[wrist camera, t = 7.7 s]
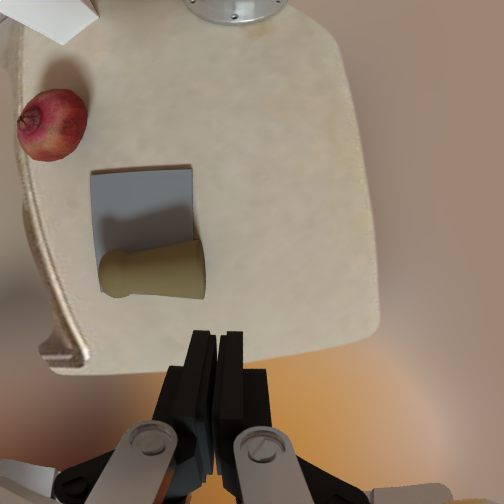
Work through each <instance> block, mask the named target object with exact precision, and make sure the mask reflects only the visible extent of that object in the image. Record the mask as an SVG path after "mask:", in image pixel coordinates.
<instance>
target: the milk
mask: <svg viewBox="0 0 504 504" xmlns="http://www.w3.org/2000/svg"><path fill="white" fill-rule="evenodd" d="M0 12H1V13H3V14H5V15H7V16H9V17H11V18H13V19H15V20H16V21H18V22H20V23H22V24H24V25H26V26H28V27H30V28H32V29H34V30H35V31H37V32H39V33H41V34H43V35H44V36H46V37H48V38H50V39H52V40H53V41H55V42H57V43H59V44H60V45H62V46H63V45H64V44H66V43H67V42H68V41H69V40H70V39H72V38H73V37H74V36H75V35H77V34H78V33H79V32H80V31H82V30H83V29H84V28H86V27H87V26H88V25H90V24H91V23H93V22H94V21H95V20H97V19H98V18H99V16H98V14H97V12H96V10H95V9H94V7H93V5H92V3H91V1H90V0H0Z"/></svg>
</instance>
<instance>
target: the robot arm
mask: <svg viewBox="0 0 504 504" xmlns="http://www.w3.org/2000/svg"><path fill="white" fill-rule="evenodd" d="M287 1H288V0H184V2H185V4H186V6H187V7H188V8H189V9H190V11H191V12H192V13H194V14H195V15H196V16H198V17H200V18H202V19H204V20H206V21H209V22H212V23H215V24H221V25H234V26H238V25H248V24H252V23H257V22H260V21H263V20H265V19H268V18H270V17H271V16H273V15H275V14H276V13H278V12H279V11H280V10H281V9H282V8H283V7H284V6H285V4H286V3H287ZM278 2H279V3H278ZM233 19H235V20H233ZM214 452H215V457H216V465H217V473H218V475H222V480H223V487H224V488H225V489H226V490H227V491H229V492H230V493H231V494H232V495H234V496H235V497H236V504H499V503H497V502H495V501H492V500H487V499H463V500H457V501H453V496H452V494H451V492H450V490H449V489H448V488H447V487H446V486H445V485H442V484H440V483H428V484H420V485H412V486H403V487H390V488H374V489H373V490H372V491H361V490H360V489H358V488H357V487H354V486H352V485H350V484H348V483H346V482H344V481H342V480H340V479H338V478H336V477H334V476H332V475H331V474H329V473H327V472H325V471H323V470H321V469H319V468H318V467H316V466H314V465H312V464H310V463H309V462H307V461H305V460H303V459H301V458H300V457H298V456H297V455H296V454H295V452H294V449H293V446H292V444H291V442H290V440H289V438H288V436H287V435H285V434H284V433H283V432H282V431H280V430H278V429H276V428H272V423H271V413H270V404H269V394H268V384H267V374H266V369H243V332H242V331H227V335H221V337H220V345H219V353H218V361H217V344H216V335H210V331H202V330H194V331H193V334H192V337H191V341H190V345H189V348H188V352H187V356H186V359H185V363H184V366H169V368H168V371H167V374H166V377H165V380H164V383H163V386H162V389H161V392H160V395H159V398H158V402H157V405H156V408H155V411H154V414H153V418H152V420H146V421H141V422H138V423H136V424H134V425H132V426H131V427H130V428H129V429H128V430H127V431H126V432H125V434H124V436H123V437H122V439H121V441H120V443H119V445H118V446H117V448H116V449H115V450H112V451H110V452H108V453H105V454H103V455H101V456H98V457H96V458H93V459H91V460H88V461H86V462H84V463H81V464H78V465H76V466H73V467H70V468H68V469H66V470H64V471H62V472H57V471H56V469H54V468H48V467H42V466H36V465H32V464H27V463H22V462H18V461H14V460H9V459H1V460H0V504H190V501H191V498H192V492H193V491H194V490H196V489H197V488H199V487H201V486H202V482H203V483H206V474H209V475H212V474H213V464H214Z"/></svg>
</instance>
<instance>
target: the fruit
mask: <svg viewBox="0 0 504 504" xmlns="http://www.w3.org/2000/svg"><path fill="white" fill-rule="evenodd" d="M87 117H88V114H87V111H86V108H85V105H84V103H83V101H82V99H81V98H80V97H78V96H77V95H76V94H75V93H74V92H73V91H71V90H67V89H52V90H48V91H45V92H41V93H39V94H38V95H36V96H35V97H34V98H33V99H32V100H31V101H30V102H28V103H27V105H26V106H25V108H24V110H23V111H22V113H21V115H20V116H19V117H18V121H17V132H18V139H19V142H20V145H21V147H22V149H23V150H24V151H25V152H26V153H27V154H28V155H29V156H30V157H31V158H32V159H34V160H38V161H45V162H51V161H56V160H59V159H63V158H64V157H66V156H67V155H69V154H70V153H72V152H73V151H74V150H75V149H76V148H77V146H78V144H79V143H80V141H81V139H82V137H83V135H84V132H85V129H86V125H87Z"/></svg>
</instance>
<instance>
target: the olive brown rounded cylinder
mask: <svg viewBox="0 0 504 504" xmlns="http://www.w3.org/2000/svg"><path fill="white" fill-rule="evenodd" d="M98 277H99V282H100V285H101V287H102V290H103V291H104V292H105V293H106V294H107V295H109V296H111V297H114V298H122V297H126V296H129V295H130V294H131V293H141V294H150V295H160V296H170V297H180V298H191V299H204V296H205V289H206V272H205V259H204V252H203V247H202V243H201V241H200V240H199V239H198V240H193V241H188V242H183V243H178V244H173V245H169V246H164V247H159V248H154V249H149V250H145V251H140V252H135V253H131V254H130V253H128V252H127V251H124V250H118V249H116V250H111V251H108V252H107V253H106V254H104V255H103V256H102V258H101V260H100V263H99V268H98Z"/></svg>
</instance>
